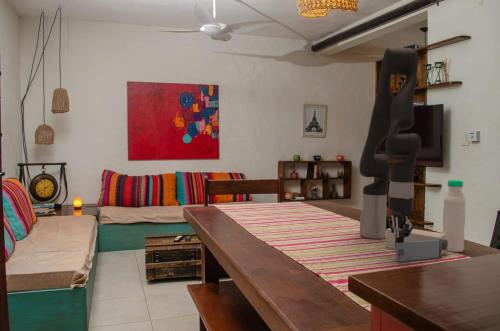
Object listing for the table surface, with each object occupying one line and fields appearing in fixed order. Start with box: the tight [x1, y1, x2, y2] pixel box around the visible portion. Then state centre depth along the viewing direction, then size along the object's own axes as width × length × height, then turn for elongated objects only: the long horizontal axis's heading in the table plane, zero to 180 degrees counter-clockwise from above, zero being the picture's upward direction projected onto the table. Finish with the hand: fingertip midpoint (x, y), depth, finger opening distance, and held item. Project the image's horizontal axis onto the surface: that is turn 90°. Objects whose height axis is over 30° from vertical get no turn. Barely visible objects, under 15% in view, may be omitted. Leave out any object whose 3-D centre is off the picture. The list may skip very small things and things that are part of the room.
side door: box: [394, 239, 443, 263], centre depth 130 cm, size 18×1×6 cm, turn 109°
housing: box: [385, 228, 448, 255], centre depth 142 cm, size 19×8×7 cm, turn 49°
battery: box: [386, 207, 392, 229], centre depth 178 cm, size 4×7×10 cm, turn 87°
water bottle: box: [441, 179, 467, 253], centre depth 142 cm, size 7×7×25 cm
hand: (399, 248), depth 131 cm, fingers closed
